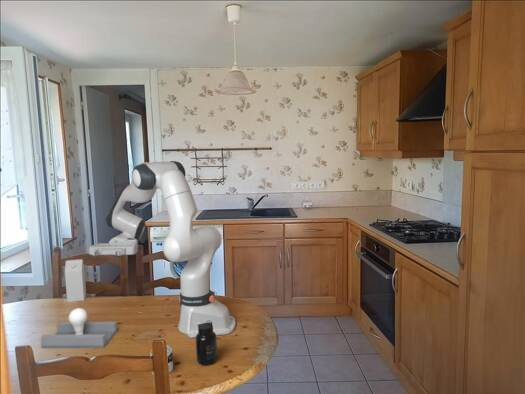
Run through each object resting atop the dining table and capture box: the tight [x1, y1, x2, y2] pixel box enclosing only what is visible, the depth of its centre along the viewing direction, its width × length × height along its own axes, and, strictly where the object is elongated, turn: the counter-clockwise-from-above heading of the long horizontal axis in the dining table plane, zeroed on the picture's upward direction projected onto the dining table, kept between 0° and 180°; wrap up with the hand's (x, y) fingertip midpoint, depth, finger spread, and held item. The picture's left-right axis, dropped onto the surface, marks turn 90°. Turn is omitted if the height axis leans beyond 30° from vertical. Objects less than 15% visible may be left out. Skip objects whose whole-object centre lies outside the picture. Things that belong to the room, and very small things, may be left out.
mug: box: [149, 343, 174, 376], centre depth 118 cm, size 10×7×7 cm
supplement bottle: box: [195, 323, 218, 366], centre depth 122 cm, size 7×7×12 cm
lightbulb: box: [68, 307, 88, 335], centre depth 136 cm, size 6×6×11 cm
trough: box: [40, 321, 118, 349], centre depth 137 cm, size 22×12×4 cm, turn 89°
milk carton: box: [64, 258, 87, 303], centre depth 174 cm, size 7×7×19 cm
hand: (105, 254), depth 157 cm, fingers open, 8 cm apart
